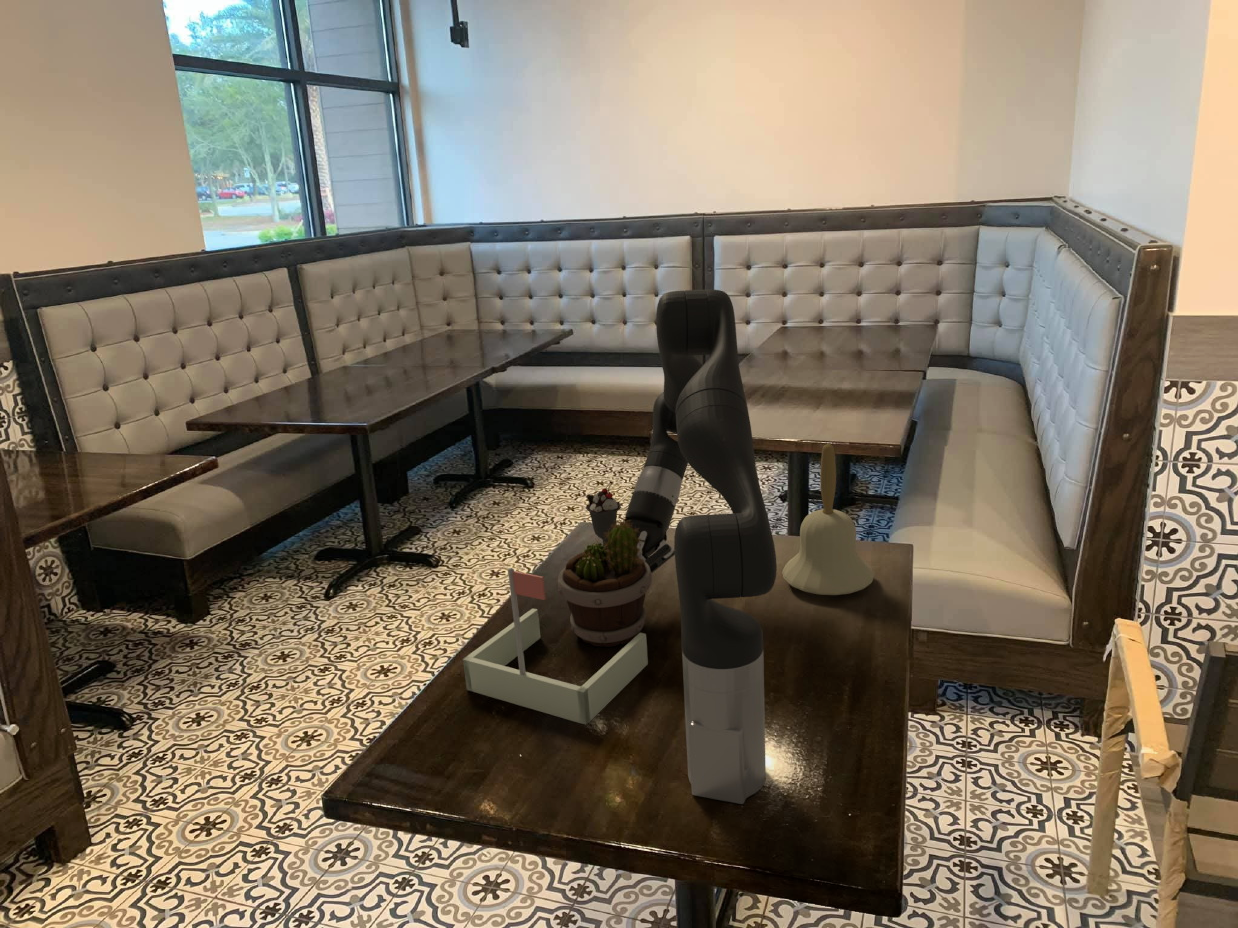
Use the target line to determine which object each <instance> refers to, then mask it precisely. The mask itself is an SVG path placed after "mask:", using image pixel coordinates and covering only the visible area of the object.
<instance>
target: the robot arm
mask: <svg viewBox="0 0 1238 928" xmlns="http://www.w3.org/2000/svg"><path fill="white" fill-rule="evenodd" d="M655 317H656V318H655V319H656V320H655V327H656V328H655V329H656V330H655V331H656V341H657V348H658V353H659V358H660V364H661V368H662V370H663V379H664V380H663V392H661V393H660V394H659V395H658V396H657V397H656V399H655V400H654V403H653V408H652V433H651V441H650V445H649V450H648V454H647V456H646V459H645V462H644V465H643V468H642V470H641V472H640V474H639V477H638V478H637V480H636V484H635V487H634V489H633V493H632V495H631V499H630V501H629V504H628V507H627V510H626V512H625V515H624V517H625V518H626V520H625V518H624V520H625V521H624V522H626V521H627V523H628V522H629V523H630V522H631V523H630V525H631V526H630V527H631V528H632V529H635V527H636V529H635V530H637V529H638V528H639V529H638V530H637V533H636V534H637V535H636V537H637V538H638V540H640V542H639V543H640V544H641V545H640V544H639V543H638V546H637V548H640V554H639V555H640V556H639V555H637V556H638V557H639V559H643V560H644V561H645V562H646V563H647V564H648V565H649V567H650V570H651V575H652V574H653V573H654V572H655V571H657V569H659V568H660V567H661V566H663V565H664V564H665V563H666V562H667V561H669V560H670V559H671V558H673V557H674V562H675V571H676V581H677V589H678V598H679V606H680V607H679V608H680V629H681V631H680V632H681V639H680V640H681V653H682V656H681V657H682V675H683V677H682V678H683V680H682V681H683V695H684V698H683V699H684V719H685V738H686V739H685V740H686V741H685V742H686V756H687V757H686V759H687V761H686V762H687V776H688V780H689V781H688V782H689V783H690V785H691V794H692V796H696V797H700V798H701V797H702V798H708V799H712V800H718V801H723V802H728V803H734V804H739V805H744V804H745V802H746V800H747V798H750V797H751V796H753V795H755V794H756V793H757V792H759V790H761V789H762V788H763V786H764V785H765V782H766V780H767V779H766V772H767V770H766V767H767V766H766V728H765V726H766V725H765V724H766V723H765V722H766V721H765V677H764V676H765V675H764V672H765V671H764V669H765V668H764V667H765V664H764V663H765V662H764V632H763V629H762V628H763V627H762V626H761V624H760V622H759V621H758V620H757V619H756V618H755V617H753V616H752V615H751V614H748V613H747V612H745V611H742V610H739V609H737V608H733V607H729V606H727V605H723V604H722V603H719V602H718V601H716V600H715V599H717V600H719V599H736V598H738V599H739V598H753V597H759V596H764V595H766V594H768V593H769V592H770V591H771V590H772V589H773V587H774V585H775V583H776V579H777V569H778V568H777V555H776V547H775V542H774V538H773V537H774V536H773V533H772V528H771V524H770V521H769V516H768V513H767V509H766V508H767V507H766V505H765V501H764V497H763V493H762V489H761V486H760V485H761V484H760V481H759V476H758V473H757V472H758V471H757V465H756V460H755V459H756V457H755V449H754V441H753V433H752V425H751V419H750V413H749V408H748V403H747V398H746V393H745V390H744V385H743V380H742V376H741V370H740V363H739V352H738V351H739V350H738V341H737V340H738V339H737V329H736V328H737V327H736V325H737V324H736V318H735V310H734V305H733V302H732V300H731V297H730V296H729V294H728V293H727V292H726V291H723V290H721V289H720V290H719V289H712V288H711V289H685V290H674V291H668V292H665V293H663V294H662V295H661V296H660V298H659V300H658V302H657V307H656V314H655ZM696 356H708V359H707V360H706V361H705V363H704V364H702V362H701V361H700V360H699V359H698V358H697V357H696ZM668 433H671V434H676V435H677V440H675V439H673V438H672V437H671V436H669V434H668ZM688 465H689V466H690V467H691V468H692V469H693V470H694V471H695V472H696V473H697V474H698V475H699V476H700V477H701V478H702V479H704V480H705V481H706V483H708V484H709V486H711V487H712V488H713V489H714V490H715V491H716V492H717V493H719V494H720V495H721V496H722V498H723V499H724V501H725V502H726V503H727V505H728V506H729V509H730V510H731V512H732V513H718V514H701V515H700V514H698V515H688V516H684V517H682V518H681V519H680V520H679V521H678V523H677V525H676V527H675V532H674V537H673V538H674V540H673V542H674V544H673V545H674V546H673V547H674V548H673V547H672V546H670V544H668V542H667V540H668V536H667V532H668V530H669V528H670V525H671V521H672V519H673V515H674V513H675V509H676V505H677V504H678V501H679V497H680V493H681V487H682V483H683V479H684V476H685V473H686V470H687V467H688ZM628 520H630V521H628ZM624 525H626V524H625V523H624ZM638 531H639V533H638ZM639 536H640V537H639ZM606 537H607V536H606ZM606 537H604V539H605V538H606ZM607 539H608V538H606V539H605V543H607V542H608V540H609V539H608V540H607ZM606 541H607V542H606ZM641 542H642V543H641ZM607 544H608V543H607ZM640 546H641V547H640ZM641 548H642V549H641ZM608 550H609V548H608ZM642 551H643V552H642ZM641 552H642V553H641ZM638 553H639V552H638ZM640 557H641V558H640Z"/></svg>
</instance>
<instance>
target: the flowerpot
mask: <svg viewBox="0 0 1238 928" xmlns="http://www.w3.org/2000/svg"><path fill="white" fill-rule="evenodd" d="M624 517H625V515H623V517H622V518H621V519H620V518H619V517H617V519H616V520H614V521H616V523H615V524H614V525H613V524H611V527H612V526H614V527H612V528H613V530H612V529H611V530H612V531H611V532H610V533H609V531H608V532H604V533H605V534H606V535H604V536H605V537H606V536H607V537H606V538H608V539H609V540H608V539H607V540H608V542H607V541H606V542H607V543H608V544H607V543H605V542H604V543H605V544H606V545H604V546H603V541H601V542H599V541H600V539H599V538H597V540H596V538H594V540H595V541H596V542H594V541H593V540H590V542H591V545H590V544H588V543H587V544H585V545H586V548H584V550H583V552H580V553H578V554H576V555H574V556H573V557H571V558H570V559H569V560H568V561H567V562H566V564H565V566H564V567H563V569H562V570H561V571H560V572H559V574H558V576H557V577H558V578H557V588H558V589H557V590H558V591H557V592H558V593H559V594H560V596H561V597H562V598H563V599H564V600H565V601H566V603H567V606H568V608H569V611H570V613H571V614H570V617H569V618H570V619H569V622H570V625H571V631H572V632H574V634H576V636H577V637H579V638H581V640H582V641H583V643H586V644H590V645H592V646H595V647H605V648H610V647H616V646H619V645H620V644H622V645H624V644H626V643H629V642H630V641H631V640H632V639H634V638H635V637H636V636H637V635H638V634H639V633H640V632H641V630H642V629H643V628H644V625H645V621H646V617H647V616H646V615H647V613H646V611H647V610H646V608H645V607H644V603H645V598H646V593H647V592H648V591H649V590H650V587H651V585H652V580H653V579H652V576H653V575H652V574H651V570H650V567H649V565H648V564H647V563H646V562H645V561H644V560H643V559H639V557H638V556H637V555H639V554H640V548H637V546H638V543H639V542H640V540H638V538H637V537H636V535H637V534H636V533H637V530H638V529H639V528H638V529H637V530H635V529H636V527H635V529H632V528H631V527H630V526H631V525H630V523H631V522H630V523H629V522H628V523H627V521H626V522H625V520H626V518H624ZM628 521H630V520H628ZM613 523H614V522H613ZM624 523H625V524H626V525H624ZM638 533H639V531H638ZM639 537H640V536H639ZM606 538H605V539H606ZM605 539H604V540H605ZM641 543H642V542H641ZM639 544H640V543H639ZM640 545H641V544H640ZM605 546H606V548H607V549H608V548H609V550H606V548H605ZM640 547H641V546H640ZM641 549H642V548H641ZM638 552H639V553H638ZM642 552H643V551H642ZM642 552H641V553H642ZM639 556H640V555H639ZM640 558H641V557H640Z"/></svg>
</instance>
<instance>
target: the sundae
mask: <svg viewBox="0 0 1238 928" xmlns="http://www.w3.org/2000/svg"><path fill="white" fill-rule="evenodd" d="M613 484H614V482H613V481H609V483H608V484H607V485H606V487H604V488H602V489H601V491H599V492H597V493H596V494H594V495H592V494H587V495H586V496H587V497H586V498H587V499H588V503H587V504H586V505H585V509H586V511H588V512H589V515H590V519H591V524H592V529H593V531H594V533H595V535H596V536H597V538H598V539H599V538H600V539H602V545H603V546H604V545H606V544H605V543H604V542H605V540H604V537H605V536H604V535H606V534H605V533H604V532H608V531H609V533H610V532H611V531H612V530H613V528H612V527H614V526H612V527H611V524H613V525H614V524H615V523H616V522H617V520H618V516H617V515H618V511H620V510H621V506H622V504H621V503H620V502H619V501H618V500H617V499H615V498H614V497H613V495H614V494H613V493H612V492H610V487H611V486H612V485H613ZM614 520H616V521H614ZM613 522H614V523H613ZM611 529H612V530H611ZM605 548H606V546H605ZM606 550H608V549H607V548H606Z"/></svg>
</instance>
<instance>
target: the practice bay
mask: <svg viewBox="0 0 1238 928" xmlns="http://www.w3.org/2000/svg"><path fill="white" fill-rule="evenodd" d="M507 573H508V582H509V590H510V600H511V608H512V618H513V622H511V623H510V624H509V625H507V627H505V628H504V629H502V630H501V631H499V632H498V633H497V634H495V635H494V636H492V637H491V638H490V639H488V640H487V641H486V642H484V643H482V644H481V645H480V646H479V647H477V648H476V649H475V650H473V651H472V652H470V653H469V654H467V656H465V657H464V658H462V664H463V671H464V679H465V685H466V686H465V687H466V691H469V692H473V693H475V694H476V693H477V694H480V695H483V696H486V697H490V698H493V699H496V700H501V701H503V702H508V703H511V704H514V705H517V706H520V707H524V708H527V709H530V710H531V709H532V710H534V711H538V712H542V713H544V714H547V715H548V714H549V715H551V716H555V717H558V718H562V719H564V720H568V721H571V722H574V723H578V724H582V725H584V726H587V725H588V724H589V723H590V722H591V721H592V720H593V719H594V718H595V717H596V716H597V715H598V714H599V713H600V712H601V711H602V710H603V709H604V708H606V706H607V705H608V704H609V703H610V702H611V701H612V700H613V699H614V698H615V697H616V696H617V695H618V694H619V693H620V692H621V691H622V690H623V689H624V688H626V686H628V684H630V682H631V681H632V680H633V679H635V678H636V677H637V675H639V674H640V673H641V672H642V670H643V669H645V668H646V666H648V664H649V659H648V644H647V633H643V632H638V633H637V635H636V636H635V637H634V638H633V639H632V640H630V641H628V642H627V644H626V645H625V646H624V647H622V648H621V649H620V650H619V651H618V652H617V653H616V654H614V656H612V658H611V659H610V660H608V661H607V662H606V663H605V664H604V665H603V666H602V667H601V668H600V669H598V671H597V672H595V673H594V674H593V675H592V676H591V677H590V678H589V679H587V681H586V682H585V683H583V684H582V685H581V686H579V685H576V684H572V683H569V682H566V681H565V682H564V681H563V680H558V679H554V678H550V677H548V676H543V675H539V674H536V673H532V672H528V671H526V665H525V654H524V651H526V650H527V649H528V648H529V647H531V646H532V645H533V644H535V643H536V642H537V641H539V640H540V639H541V638H542V637H541V629H540V628H541V627H540V619H539V618H540V617H539V609H537V608H531V609H529V610H528V611H527V612H525V613H524V614H523V615H522V616H520V611H519V603H518V596H523V597H527V598H528V597H529V598H533V599H537V600H541V601H542V600H543V601H545V600H546V589H545V581H544V579H545V578H544V576H540V575H536V574H533V573H532V574H531V573H525V572H521V571H515V569H514V568H513V567H509V568H508V569H507ZM516 658H517V662H518V669H516V668H513V667H510V666H506V665H508V664H509V663H511V662H512V661H513V660H514V659H516Z"/></svg>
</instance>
